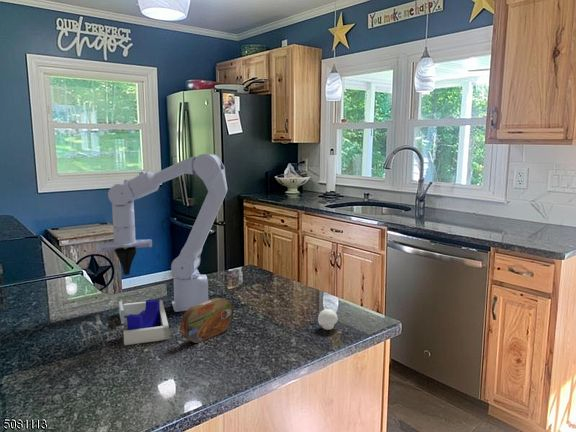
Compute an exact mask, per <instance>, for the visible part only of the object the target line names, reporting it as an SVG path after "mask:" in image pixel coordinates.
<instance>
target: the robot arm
mask: <svg viewBox="0 0 576 432" xmlns="http://www.w3.org/2000/svg"><path fill="white" fill-rule="evenodd" d="M225 167H226V166H225V165H224V164H223V162H222V159H221V158H220V157H219V156H218V155H217V154H215V153H202V154H199V155H197V156H191V157H188V158H185V159H182V160H180V161H179V162H176V163H174V164H172V165H169V167H168V166H167V167H166V168H164V169H161V170H160V171H157V172H156V173H154V172H153V171H152V172H151V171H144V170H143V171H140V172H138V174H139V175H137V176H135V177H133V178H130V179H129V178H126V179H124V180H123V183H115V184H114V185H113V186H111V187H110V188H109V190H108V192H107V197H108V200H109V202H110V203H111V210H112V212H111V213H112V231H113V233H112V234H113V241H109V242H105V243H103V242H102V243H97V244H96V252H97V253H102V252H110V251H114V253H115V254H116V256H117V259H118V260H119V263H120V265H121V269H122V273H123V275H124V276H128V275H130V273H131V272H130V271H131V267H132V264H133V261H134V258H135V256H136V254H137V249H138V248H152V247H153V240H152V238H151V239H148V238H147V239H136V223H135V222H136V221H135V218H136V217H135V206H134V205H135V204H134V202H135V200H139V199H141V198H143V197H146V196H147V195H151V194H153V193H154V192H158V190H159V188H160V185H161V184H163V183H166V182H168V181H171V180H173V179H176V178H177V177H180V176H182V175H184V174H187V175H197V176H198V177H199V178H200V180H202V181H203V184H204V185H205V187H206V190H207V194H206V196H205V199H204V200H203V202H202V205H201V208H200V210H199V212H198V214H197V217H196V219H195V222H194V223H193V225H192V229H191V230H190V232H189V235H188V237H187V240H186V242H185V243H184V246H182V248H181V250H180V253H179V255H178V256H177V257H176V258H174V259H173V260H172V262H171V265H170V270H171V273H172V274H173V297H174V298H173V301H171V305H172V307H173V308H172V309H173V311H174V312H175V313H177V312H186V311H187V310H188V309H189V308H191V307H193V306H195V305H198V304H201V303H203V302H206V301H209V282H208V277H207V274H201V273H200V272H199V270H198V268H199V266H200V264H201V254H202V252H203V249H204V248H203V247H204V245H205V242H206V240H207V238H208V236H209V233H210V232H211V229H212V227H213V225H214V222H215V220H216V218H217V216H218V213H219V211H220V209H221V206H222V205H223V202H224V199H225V198H226V195H227V193H228V185H227V178H226V177H227V176H226V168H225Z"/></svg>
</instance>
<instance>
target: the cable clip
mask: <svg viewBox="0 0 576 432" xmlns="http://www.w3.org/2000/svg"><path fill="white" fill-rule="evenodd" d="M159 300H160V299H147V300H145V301H146V309H145V311H144V310H143V311H142V312H141V313H139V314H137V315H134V314H130V315H128V316H126V325H127V330H134V329H142V328H150V327H157V325H158V324H159V323H160V303H159Z"/></svg>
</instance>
